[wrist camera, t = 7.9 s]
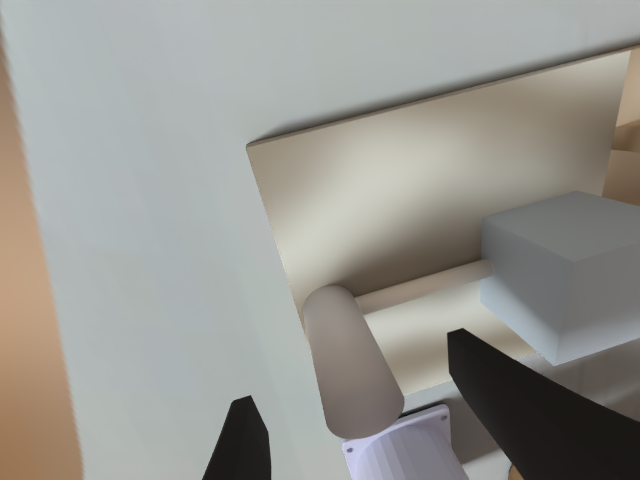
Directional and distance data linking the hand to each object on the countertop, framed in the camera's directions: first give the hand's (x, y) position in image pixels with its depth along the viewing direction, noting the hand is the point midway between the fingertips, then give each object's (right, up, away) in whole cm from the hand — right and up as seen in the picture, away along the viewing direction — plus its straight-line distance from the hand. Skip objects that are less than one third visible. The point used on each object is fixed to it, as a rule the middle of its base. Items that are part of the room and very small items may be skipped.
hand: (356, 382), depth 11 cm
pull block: (+5, +3, +4) cm, 7 cm away
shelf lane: (+10, +5, +6) cm, 13 cm away
